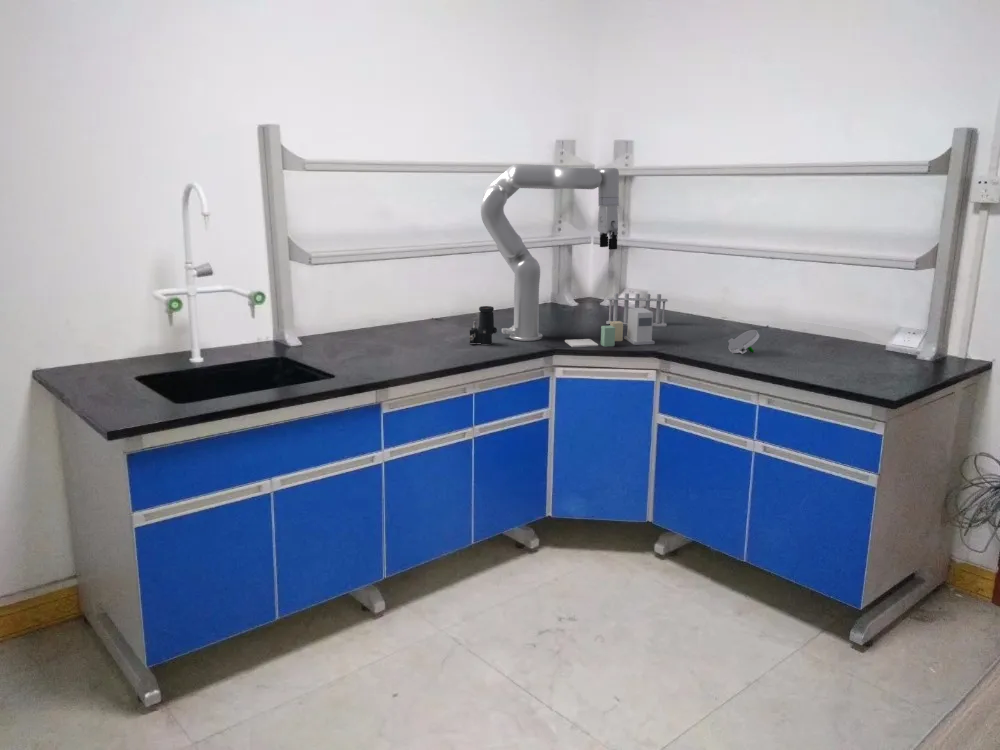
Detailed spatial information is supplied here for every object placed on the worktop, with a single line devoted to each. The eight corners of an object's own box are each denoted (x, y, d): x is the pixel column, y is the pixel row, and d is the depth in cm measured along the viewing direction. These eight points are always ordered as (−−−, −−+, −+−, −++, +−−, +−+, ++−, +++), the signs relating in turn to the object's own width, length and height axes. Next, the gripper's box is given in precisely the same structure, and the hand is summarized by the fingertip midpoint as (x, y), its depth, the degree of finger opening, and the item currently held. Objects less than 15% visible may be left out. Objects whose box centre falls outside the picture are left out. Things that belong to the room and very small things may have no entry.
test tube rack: (606, 324, 327) (607, 293, 323) (606, 322, 331) (607, 292, 327) (666, 326, 323) (668, 295, 320) (665, 324, 327) (667, 293, 324)
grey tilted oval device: (722, 345, 285) (740, 320, 282) (739, 356, 286) (757, 331, 283) (733, 354, 270) (753, 328, 268) (752, 366, 271) (771, 340, 269)
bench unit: (634, 344, 289) (635, 313, 285) (624, 338, 299) (625, 308, 296) (654, 344, 290) (656, 312, 287) (643, 337, 300) (645, 307, 297)
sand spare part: (612, 341, 295) (613, 323, 293) (608, 339, 298) (609, 321, 297) (622, 340, 295) (623, 322, 294) (618, 338, 299) (619, 321, 297)
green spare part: (604, 346, 286) (604, 328, 284) (600, 344, 290) (601, 325, 288) (614, 346, 287) (615, 327, 285) (610, 343, 290) (611, 325, 289)
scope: (472, 304, 291) (498, 305, 289) (472, 340, 295) (498, 341, 293) (468, 308, 283) (494, 309, 282) (468, 345, 287) (494, 346, 285)
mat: (572, 347, 284) (572, 345, 284) (564, 341, 294) (564, 339, 294) (598, 346, 286) (598, 344, 286) (589, 340, 296) (589, 338, 296)
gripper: (591, 201, 297) (591, 246, 301) (607, 203, 281) (606, 250, 285) (610, 200, 298) (609, 245, 303) (626, 202, 282) (626, 249, 286)
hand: (608, 248), depth 294 cm, fingers open, 9 cm apart
